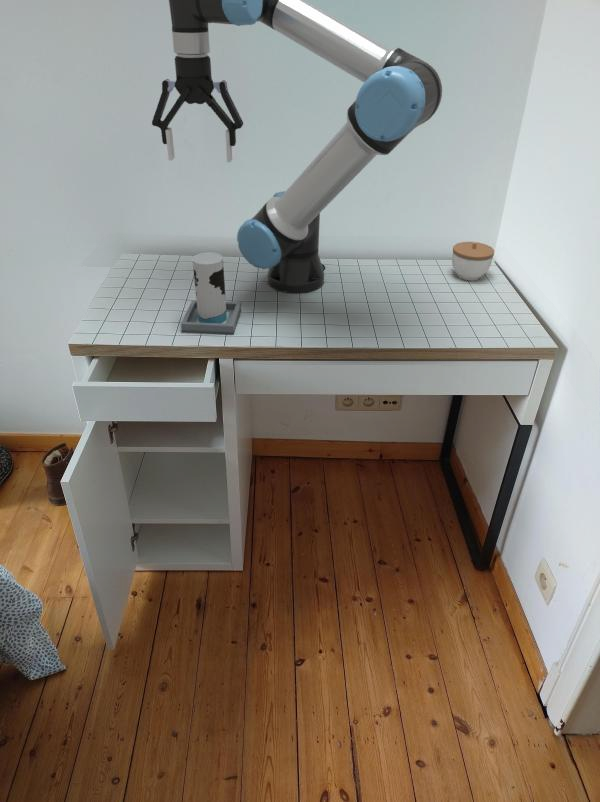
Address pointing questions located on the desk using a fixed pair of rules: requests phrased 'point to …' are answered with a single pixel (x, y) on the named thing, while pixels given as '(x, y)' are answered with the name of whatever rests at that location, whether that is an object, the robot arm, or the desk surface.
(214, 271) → the cup
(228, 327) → the tray
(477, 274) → the lidded jar
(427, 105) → the robot arm
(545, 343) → the desk surface
